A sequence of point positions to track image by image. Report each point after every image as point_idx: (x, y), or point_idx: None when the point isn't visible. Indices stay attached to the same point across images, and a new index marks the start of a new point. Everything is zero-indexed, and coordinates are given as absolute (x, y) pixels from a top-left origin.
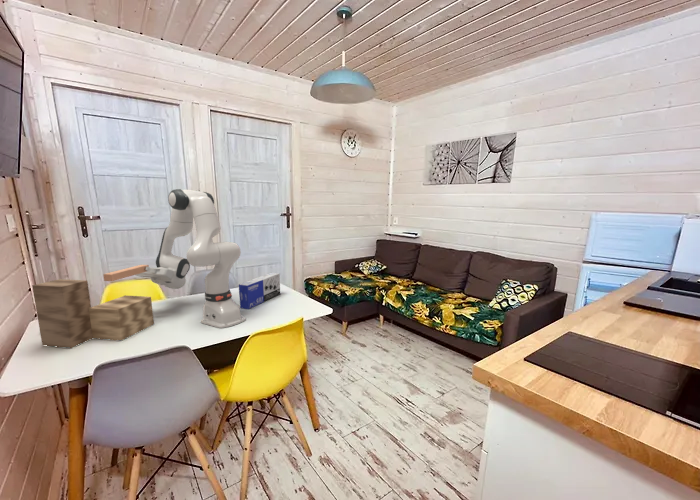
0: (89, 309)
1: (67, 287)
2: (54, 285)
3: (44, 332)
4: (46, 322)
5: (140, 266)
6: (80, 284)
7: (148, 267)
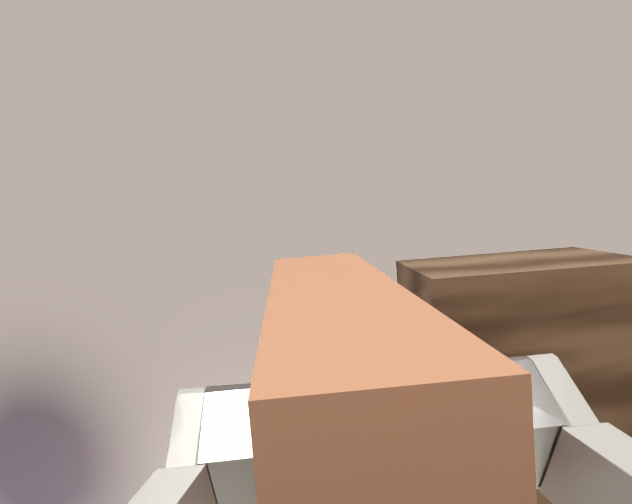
0: None
1: (402, 274)
2: (466, 257)
3: None
4: None
5: (309, 331)
6: (420, 287)
7: (173, 419)
